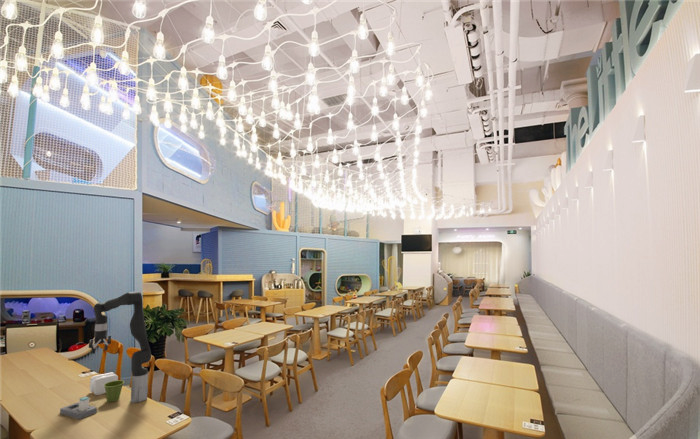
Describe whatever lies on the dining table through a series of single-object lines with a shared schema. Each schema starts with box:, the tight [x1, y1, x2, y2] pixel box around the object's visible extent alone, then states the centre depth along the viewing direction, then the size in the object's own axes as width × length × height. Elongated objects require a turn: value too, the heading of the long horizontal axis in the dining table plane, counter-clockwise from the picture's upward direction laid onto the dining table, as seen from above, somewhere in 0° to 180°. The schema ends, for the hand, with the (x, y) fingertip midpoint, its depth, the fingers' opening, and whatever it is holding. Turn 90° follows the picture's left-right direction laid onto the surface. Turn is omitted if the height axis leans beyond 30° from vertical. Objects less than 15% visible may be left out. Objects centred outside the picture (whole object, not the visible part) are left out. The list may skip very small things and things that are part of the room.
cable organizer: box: [89, 371, 119, 396], centre depth 252 cm, size 15×11×12 cm
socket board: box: [59, 401, 98, 420], centre depth 218 cm, size 20×10×3 cm, turn 67°
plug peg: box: [78, 396, 90, 412], centre depth 216 cm, size 4×4×10 cm
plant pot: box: [104, 379, 125, 403], centre depth 237 cm, size 12×12×11 cm
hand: (99, 352), depth 255 cm, fingers open, 8 cm apart
